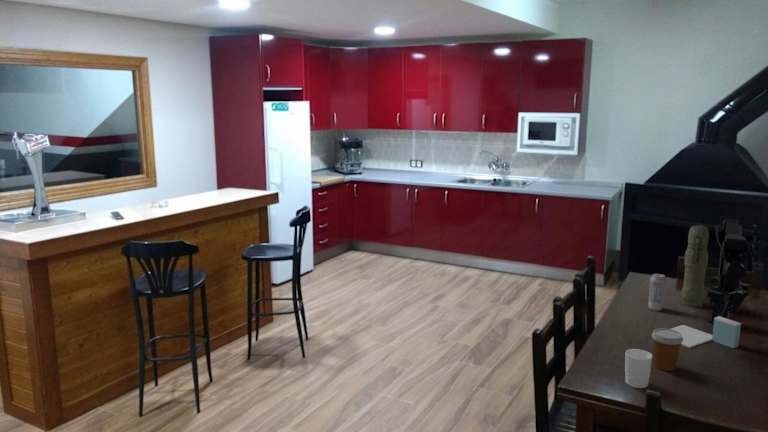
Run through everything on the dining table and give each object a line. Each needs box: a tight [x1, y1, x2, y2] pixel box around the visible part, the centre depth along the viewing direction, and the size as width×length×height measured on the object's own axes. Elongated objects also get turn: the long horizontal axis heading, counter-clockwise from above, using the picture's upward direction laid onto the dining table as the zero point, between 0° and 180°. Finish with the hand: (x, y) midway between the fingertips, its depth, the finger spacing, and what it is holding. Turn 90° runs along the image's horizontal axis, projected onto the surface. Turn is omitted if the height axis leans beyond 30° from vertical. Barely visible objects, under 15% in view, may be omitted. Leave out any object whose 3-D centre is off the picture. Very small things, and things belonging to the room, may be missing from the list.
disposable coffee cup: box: [651, 327, 683, 372], centre depth 193 cm, size 10×10×12 cm
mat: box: [670, 324, 713, 349], centre depth 218 cm, size 17×14×1 cm
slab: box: [712, 316, 742, 349], centre depth 211 cm, size 3×8×9 cm, turn 29°
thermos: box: [680, 224, 710, 308], centre depth 250 cm, size 9×12×35 cm
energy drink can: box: [647, 273, 667, 312], centre depth 246 cm, size 6×6×15 cm
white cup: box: [624, 348, 654, 389], centre depth 182 cm, size 8×8×10 cm
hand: (727, 313), depth 210 cm, fingers open, 9 cm apart
